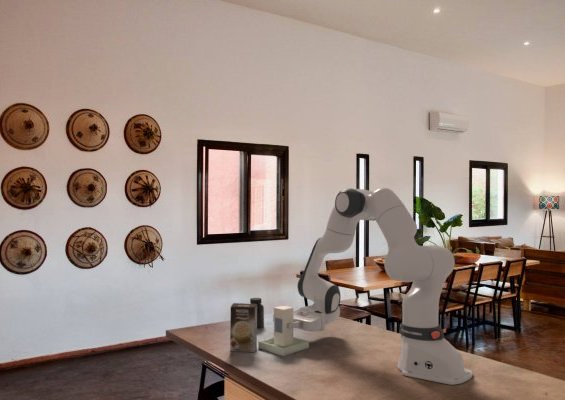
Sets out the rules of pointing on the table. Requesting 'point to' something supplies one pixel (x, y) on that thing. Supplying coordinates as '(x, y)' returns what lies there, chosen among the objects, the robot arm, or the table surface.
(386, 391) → the table surface
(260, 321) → the supplement bottle
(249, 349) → the coffee box
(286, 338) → the box
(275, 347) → the tray
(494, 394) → the table surface
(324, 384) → the table surface
